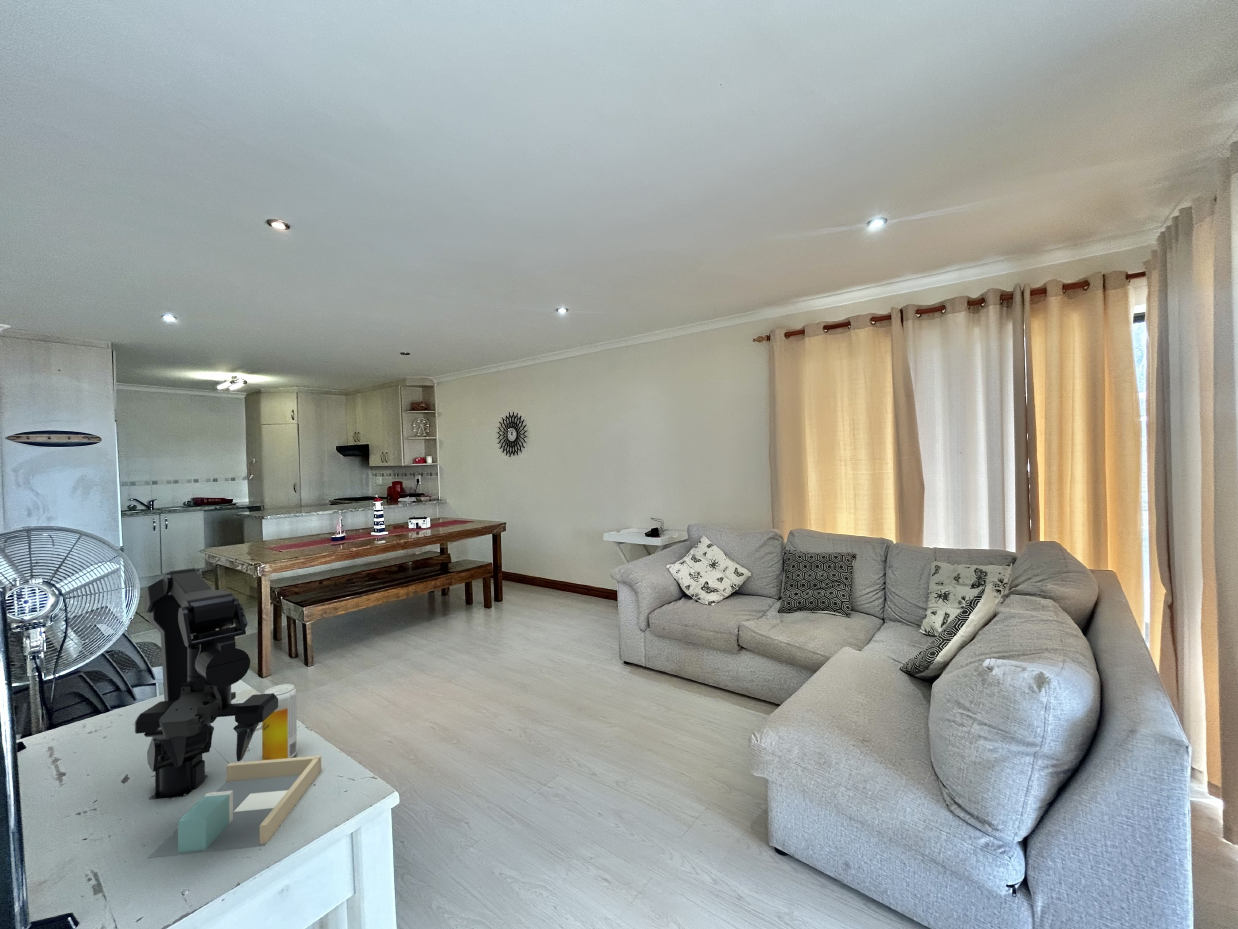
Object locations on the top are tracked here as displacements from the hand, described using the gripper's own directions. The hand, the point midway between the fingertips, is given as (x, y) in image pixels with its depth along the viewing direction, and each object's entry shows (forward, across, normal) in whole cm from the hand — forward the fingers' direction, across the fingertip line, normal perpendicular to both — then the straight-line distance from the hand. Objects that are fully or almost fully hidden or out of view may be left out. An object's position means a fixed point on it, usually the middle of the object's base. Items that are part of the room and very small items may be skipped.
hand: (209, 763), depth 84 cm
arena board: (+12, +2, +6) cm, 14 cm away
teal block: (+12, 0, 0) cm, 12 cm away
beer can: (+13, 0, +23) cm, 26 cm away
